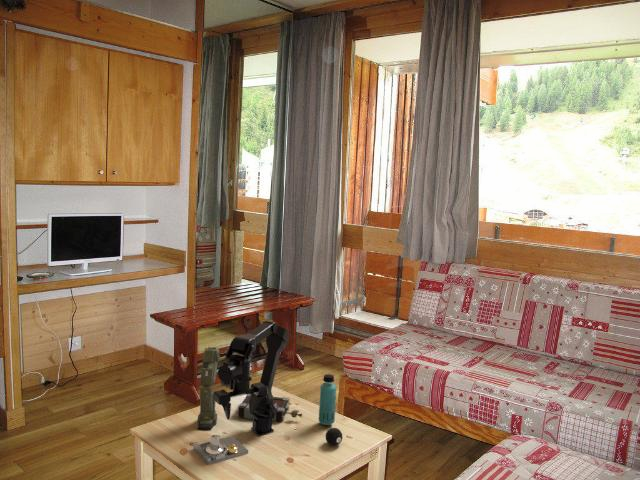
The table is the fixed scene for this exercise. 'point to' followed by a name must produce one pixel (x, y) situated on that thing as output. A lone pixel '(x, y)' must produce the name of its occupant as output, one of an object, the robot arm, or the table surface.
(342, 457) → the table surface
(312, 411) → the table surface
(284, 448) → the table surface
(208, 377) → the mechanical leg
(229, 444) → the plate
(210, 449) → the silver metal knob
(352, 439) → the table surface
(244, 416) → the machine vise
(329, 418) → the beverage bottle
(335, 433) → the billiard ball
